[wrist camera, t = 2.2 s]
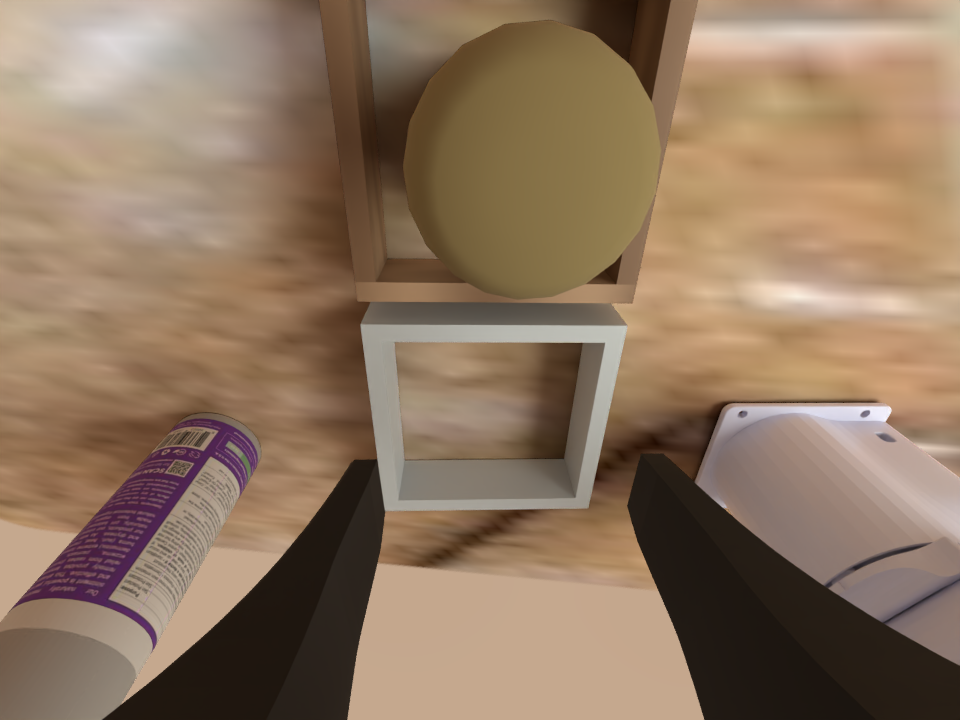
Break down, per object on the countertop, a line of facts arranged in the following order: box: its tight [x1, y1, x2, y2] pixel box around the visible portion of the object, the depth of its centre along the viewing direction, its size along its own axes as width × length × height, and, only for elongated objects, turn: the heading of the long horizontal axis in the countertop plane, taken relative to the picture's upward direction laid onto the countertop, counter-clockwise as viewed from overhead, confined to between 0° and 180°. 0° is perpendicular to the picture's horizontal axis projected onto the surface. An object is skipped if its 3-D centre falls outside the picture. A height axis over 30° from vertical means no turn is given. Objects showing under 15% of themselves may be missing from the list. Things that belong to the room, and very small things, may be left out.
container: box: [0, 413, 261, 720], centre depth 18 cm, size 5×5×15 cm
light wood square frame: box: [319, 0, 698, 303], centre depth 16 cm, size 11×11×3 cm
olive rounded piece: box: [403, 20, 661, 300], centre depth 12 cm, size 6×6×11 cm
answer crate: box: [360, 302, 627, 511], centre depth 22 cm, size 11×11×3 cm
